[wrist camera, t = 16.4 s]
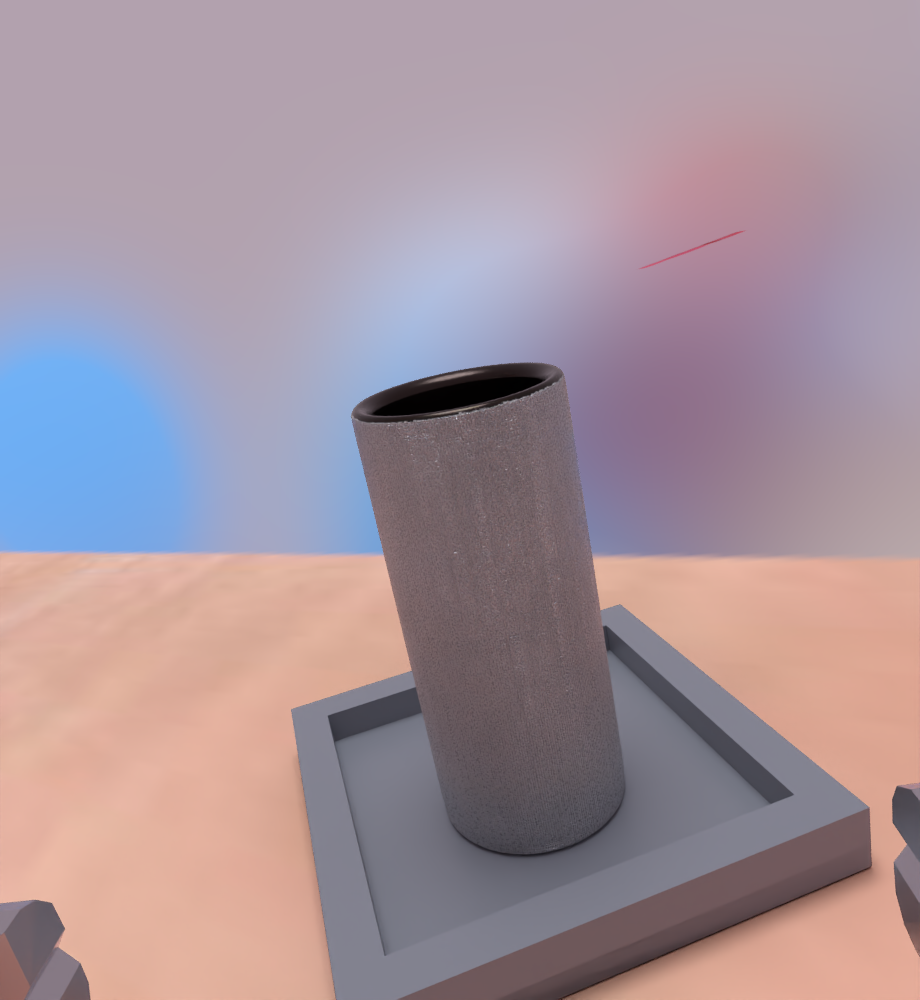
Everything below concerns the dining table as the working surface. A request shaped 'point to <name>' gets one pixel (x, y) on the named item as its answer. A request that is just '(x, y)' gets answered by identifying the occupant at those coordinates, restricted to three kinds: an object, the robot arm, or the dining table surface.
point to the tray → (574, 869)
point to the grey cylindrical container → (497, 600)
